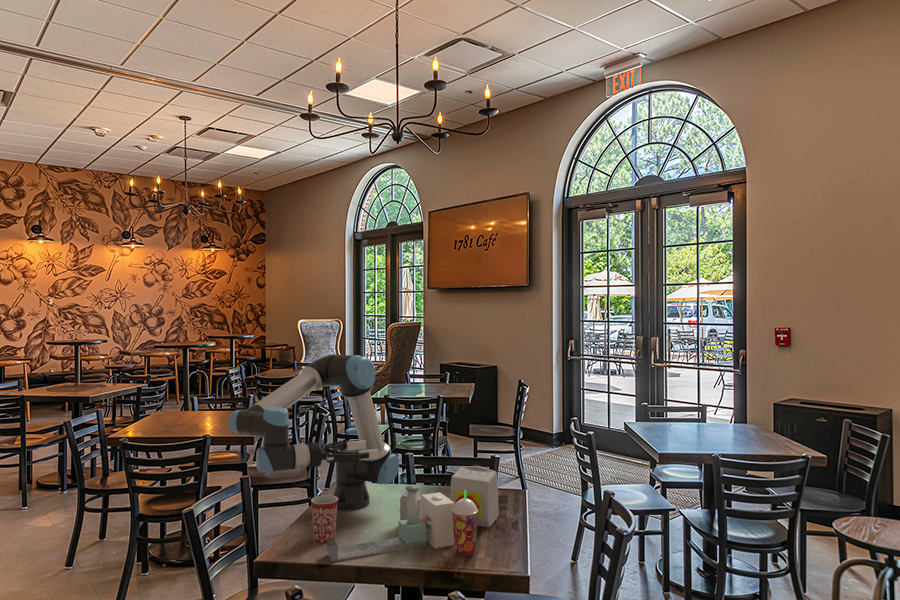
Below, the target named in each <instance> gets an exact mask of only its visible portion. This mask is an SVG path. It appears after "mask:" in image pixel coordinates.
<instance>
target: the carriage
mask: <svg viewBox="0 0 900 600" xmlns="http://www.w3.org/2000/svg"><path fill="white" fill-rule="evenodd" d="M419 488H420V487H419V485H412V484H411V485H407V486H406V488H405V491H406V492H408V496H407V520H401V521H400V520H398V534H397V535H398V538H399V537H400V538H401V539H402V540H403V541H404V542H405V543H411V542H417V541H423V540H426V524H424V523H423V522H422V521H421V520H420V519H419V518H417V492H418V491H419V490H420V489H419Z"/></svg>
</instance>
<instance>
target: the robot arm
mask: <svg viewBox="0 0 900 600" xmlns="http://www.w3.org/2000/svg"><path fill="white" fill-rule="evenodd" d="M376 375H377V373H376V367H375V365H374V363H373V361H372V360H371V359H370V358H369V357H367V356H361V355H357V354H355V355H351V354H349V355H347V354H328V355H325V356H323V357H320V358H318V359H316V360H315V361H312V362H311V363H309V364H307V365H306V366H304V367H303V368H302V369H301V371H300V373H299V374H297V375H296V376H294V377H293V378H291V379H290V380H289V381H287V382H285V383H284V384H282V385H281V386H280V387H278V388H276V390H273V391H272V392H270V393H269V394H268V395H266V396H265V397H263V398H262V399H260V400H259V401H257V402H256V403H254V404H253V405H251V406H250V407H248V408H247V409H236V410H234V411H233V412H231V413H230V415H229V418H228V421H227V422H228V428H229V429H230V431H231V432H233V433H236V434H239V435H242V436H245V435H246V436H251V437H258V438H263V442H262V443H263V446H261V447H259V448H257V449H256V453H255V454H256V455H255V463H256V469H257V471H258V472H259V473H274V472H275V473H276V472H282V471H289V470H297V471H301V469H307V467H308V468H316V467H317V468H318V467H321V465H322V461H326V463H328V464H330V463H335V487H334V490H333V493H332V496H336V497H337V498H338V502H337V510H344V511H349V510H358V509H359V510H360V509H364V508H366V507H368V506H369V504H370V503H371V501H370V498H371V497H370V494H369V491H368V488H367V485H366V482H367V483H368V482H370V483H374V484H378V485H389V484H391V483H392V482H393V481H395V478H396V477H397V476H398V472H399V470H400V469H399V468H400V458H399V456H398V455H397V454H395V453H392V452H391V450H390V449H391V448H390V446H389V444H388V443H386V442H384V438H383V435H382V432H381V427H380V424H379V420H378V416H377V413H376V409H375V405H374V403H373V399H372V394H371V391H372V389H373V385H374V383H375V381H376ZM330 386H331V387H339V389H340V392H341V395H342V397H344V398H346V399H347V402H348V406H349V408H350V411H351V415H352V419H353V422H354V426H355V429H356V433H357V437H358V440H356V441H355V440H353V441H352V440H351V441H347V439H342V440H339V441H335V442H330V443H326V444H320V442H309V443H307V444H306V443H296V444H290V445H289V434H290V433H289V432H290V430H289V429H290V425H289V424H290V420H289V419H290V418H289V410H288V409H289V408H290V407H291V406H293V405H294V404H296V403H297V402H299V401H300V400H301V399H303V398H304V397H306V396H307V395H308V394H309V393H311V392H312V391H313V392H314V391H318V390H321V388H324V387H330Z"/></svg>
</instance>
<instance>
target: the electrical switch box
mask: <svg viewBox="0 0 900 600" xmlns="http://www.w3.org/2000/svg"><path fill="white" fill-rule="evenodd" d="M498 487H499V486H498V473H497V471H495V470H493V469H489V468H486V467H483V466H479V465H472V466H461V467H460V468H459V469H458V470H457V471H456V472H455V473H454V474H453V475H452V476H451V479H450V500H451V501H453V502H454V503H455V504H456V502H457V501H459V500H460V499H463V498H464V490H466V498H467V499H470V500H472V501H473V502H474V503H475V505H476V507H477V509H478V516H477V527H485V528H490V527H491V526H493V524H494V523H495V521H496V520H497V518H498V517H499V515H500V510H499V509H500V508H499V507H500V506H499V488H498Z"/></svg>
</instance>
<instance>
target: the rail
mask: <svg viewBox="0 0 900 600" xmlns="http://www.w3.org/2000/svg"><path fill="white" fill-rule="evenodd" d="M427 542H428V541H427V539H426V540H423V541H417V542H411V543H405V542H404V541H403V540H402V539H401V538H400V537H399V536H398V537H395V538H389V539H388V538H387V539H382V540H381V539H380V540H376V541H370V542H365V543H364V542H363V543H357V544H352V545H346V546H345V545H344V546H340V547H339V545H338V543H337V541H336V540H335V539H333V538H332V539H327V543H326V556H327V558H328V559H329V561H330V563H336V562H339V561H344V560H349V558H350V559H354V558H353V557H356V558H359V557H358V556H362V557H365V556H364V555H367V556H370V555H369V554H373V555H376V554H375V553H379V554H382V553H381V552H385V553H388V551H390V552H394V551H393V550H396V551H400V550H399V549H402V550H405V549H404V548H408V549H411V548H410V547H413V548H417V547H416V546H419V547H423V545H425V546H427Z"/></svg>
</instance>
